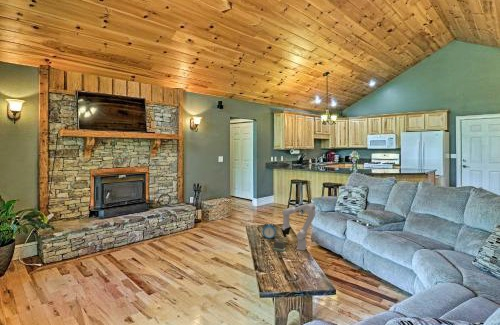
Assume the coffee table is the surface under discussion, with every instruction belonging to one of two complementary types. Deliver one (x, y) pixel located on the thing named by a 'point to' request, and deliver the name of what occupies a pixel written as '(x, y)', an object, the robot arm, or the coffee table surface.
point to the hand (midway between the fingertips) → (286, 235)
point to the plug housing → (279, 245)
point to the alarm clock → (269, 230)
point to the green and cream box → (279, 249)
